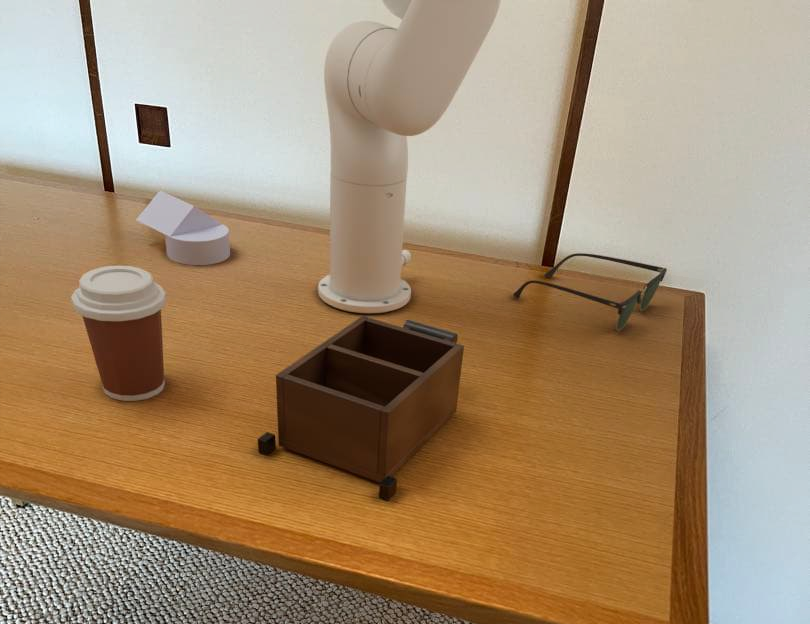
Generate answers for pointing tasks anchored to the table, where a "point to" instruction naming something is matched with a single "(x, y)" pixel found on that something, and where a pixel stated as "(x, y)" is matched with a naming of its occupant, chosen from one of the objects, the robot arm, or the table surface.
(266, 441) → the dark brown rod
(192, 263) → the wedge on round base
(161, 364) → the coffee cup
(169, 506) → the table surface
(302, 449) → the shelf
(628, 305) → the sunglasses
